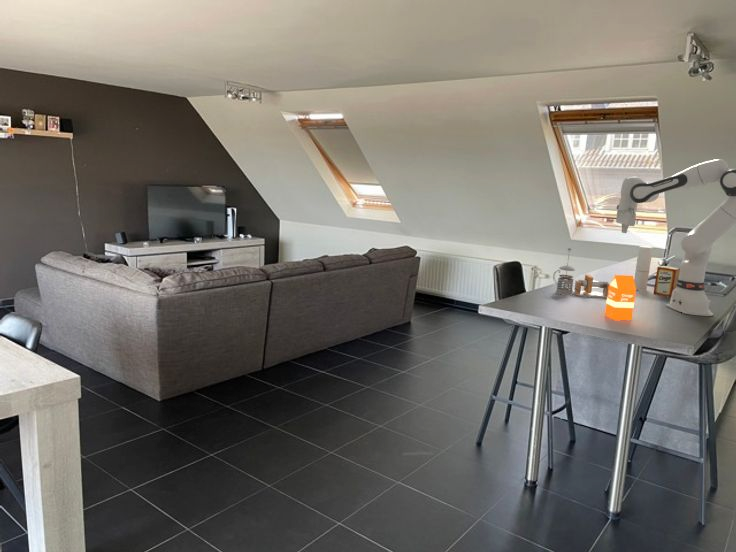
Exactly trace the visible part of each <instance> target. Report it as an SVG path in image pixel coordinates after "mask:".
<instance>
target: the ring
mask: <svg viewBox="0 0 736 552" xmlns="http://www.w3.org/2000/svg"><path fill="white" fill-rule="evenodd" d="M584 280H588V286H587V287H583V289H582V291H585V292H587V293H591V292H593V291H592V290H593V287H592V283H593V281H594V277H593V276H592V275H590V274H585V275H584Z"/></svg>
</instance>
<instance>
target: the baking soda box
mask: <svg viewBox="0 0 736 552" xmlns="http://www.w3.org/2000/svg"><path fill="white" fill-rule="evenodd" d="M679 272H680V268H677V267H674V266H671V265H670V266H668V265H666V266H665V265H659V266H657V269H656V274H655V275H656V276H655V282H654V287H653V295H656V294H657V296H661V295H662V297H667V296H669V297H668V298H671V295H672V291H673V290H674V289H675V288H676V287H677V286H676V284H677V279H679Z"/></svg>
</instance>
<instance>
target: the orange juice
mask: <svg viewBox="0 0 736 552" xmlns="http://www.w3.org/2000/svg"><path fill="white" fill-rule="evenodd" d="M634 278H635V276H634V275H622V274H621V275H620V274H615V275H614V276H613V278H612V280H611V282H610V283H609V284H610V285H609V289H608V296H607V298H606V301H605V304H606V305H605V311H604V317H606V316H607V318H608V317H609V318H608V319H610V318H611V319H613V320H612V321H620V320H632V319H633V314H634V306H635V300H636V299H635V298H636V293H637V289H636V287H635V282H634ZM611 319H610V320H611Z"/></svg>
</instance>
